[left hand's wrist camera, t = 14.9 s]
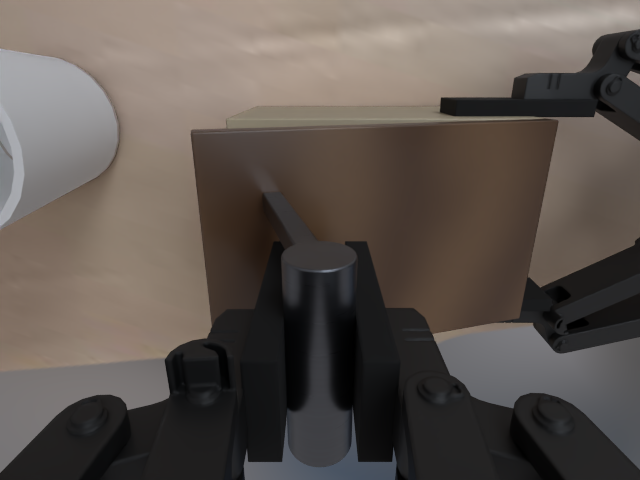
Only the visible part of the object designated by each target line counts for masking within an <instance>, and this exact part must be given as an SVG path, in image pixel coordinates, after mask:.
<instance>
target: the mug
mask: <svg viewBox="0 0 640 480" xmlns="http://www.w3.org/2000/svg"><path fill="white" fill-rule="evenodd" d="M119 140H120V139H119V122H118V119H117V115H116V112H115V108H114V106H113V104H112V102H111V101H110V99H109V97H108V95H107V93H106V92H105V90H104V89H103V88H102V87H101V86H100V85H99V83H98V82H97V81H96V80H95V79H94V78H93V77H92V76H91V75H90V74H88V73H87V72H85V71H84V70H83V69H81V68H80V67H79V66H77V65H75V64H72V63H70V62H68V61H65V60H63V59H61V58H55V57H48V56H42V55H36V54H30V53H24V52H18V51H12V50H5V49H0V230H1V229H2V228H4V227H6V226H8V225H10V224H12V223H13V222H15V221H17V220H19V219H21V218H23V217H24V216H26V215H28V214H30V213H32V212H34V211H35V210H37V209H39V208H41V207H43V206H45V205H46V204H48V203H50V202H52V201H54V200H56V199H57V198H59V197H61V196H63V195H65V194H67V193H69V192H70V191H72V190H74V189H76V188H78V187H80V186H81V185H83V184H85V183H87V182H89V181H91V180H92V179H94V178H96V177H98V176H99V175H100V174H102V173H103V172H104V171H105V170H106V169H107V168H108V167H109V166H110V164H111V162H112V161H113V159H114V157H115V156H116V153H117V149H118V144H119Z"/></svg>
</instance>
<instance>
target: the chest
mask: <svg viewBox="0 0 640 480" xmlns="http://www.w3.org/2000/svg"><path fill="white" fill-rule="evenodd" d="M521 119H545V118H540V117H534V116H451V115H448V114H444V113H441V112H440V106H257V107H254V108H252V109H249V110H247V111H245V112H242V113H240V114H237V115H235V116H232V117H230V118H228V119H226V124H227V129H232V128H264V127H296V126H328V125H360V124H392V123H424V122H456V121H488V120H521Z"/></svg>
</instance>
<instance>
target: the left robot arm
mask: <svg viewBox="0 0 640 480" xmlns="http://www.w3.org/2000/svg"><path fill="white" fill-rule="evenodd" d="M345 245H346V246H348V247H350V248H352V249H353V250H354V251H355V252H356V254H357V256H358V265H357V294H356V322H355V351H354V380H353V413H354V423H355V433H356V443H357V453H358V462H392V457H393V446H394V451H395V456H396V461H397V467H396V477H395V480H640V470H639V469H638V468H637V467H636V466H635V465H634V464H633V463H632V462H631V461H630V460H629V459H628V458H627V456H626V455H624V453H623V452H621V450H620V449H619V448H618V447H617V446H616V445H615V444H614V443H613V442H612V441H611V440H610V439H609V438H608V437H607V436H606V435H605V434H604V433H603V432H602V431H601V430H600V429H599V428H598V427H597V426H596V425H595V424H594V423H593V422H592V421H591V420H590V419H589V418H588V417H587V416H586V415H585V414H584V413H583V412H581V411H580V410H579V409H578V408H576V407H575V406H574V405H573V404H571V403H569V402H567V401H565V400H563V399H561V398H558V397H555V396H551V395H548V394H544V393H529V394H526V395H523V396H520V397H519V398H518V400H517V401H516V402H515V404H514V409H513V408H508V407H504V406H500V405H495V404H491V403H487V402H484V401H481V400H478V399H476V398H474V397H472V396H471V395H470V393H469V391H468V390H467V388H466V387H465V385H464V384H463V383H462V382H460V381H459V380H458V379H457V378H455V377H453V376H451V375H450V374H449V372H448V369H447V367H446V365H445V362H444V360H443V358H442V355H441V353H440V351H439V349H438V346H437V344H436V342H435V341H434V337H433V335H432V332H431V331H430V328H429V326H428V323H427V321H426V319H425V317H424V316H423V315H421V314H420V313H419V312H418V311H417V310H415V309H414V308H385V304H384V301H383V297H382V293H381V290H380V286H379V283H378V279H377V276H376V272H375V269H374V265H373V262H372V258H371V254H370V251H369V247H368V244H367V241H345ZM284 251H285V249H284V247H283V245H282V243H281V242H280V241H274V242H273V245H272V249H271V252H270V256H269V260H268V263H267V267H266V270H265V274H264V277H263V281H262V284H261V288H260V291H259V295H258V298H257V302H256V306H255V309H227V310H225V311H224V312H223V313H222V314H221V315H220V316H218V317H217V318H216V319H215V321H214V324H213V326H212V328H211V332H210V333H209V335H208V337H207V339H199V340H193V341H190V342H187V343H185V344H182V345H180V346H178V347H177V348H176V349H174V350H173V351H171V352H170V353H169V355H168V356H167V358H166V359H165V365H166V371H167V377H168V383H169V389H170V396H169V398H168V399H166V400H164V401H162V402H158V403H155V404H152V405H148V406H144V407H139V408H135V409H131V410H127V407H126V404H125V403H124V402H123V400H122V399H121V398H119V397H116V396H113V395H96V396H92V397H88V398H85V399H82V400H80V401H78V402H76V403H74V404H72V405H70V406H68V407H67V408H66V409H64V410H63V411H62V412H61V413H59V414H58V415H57V416H56V417H55V418H54V419H53V420H52V421H51V422H50V423H49V424H48V425H47V426H46V427H45V428H44V429H43V430H42V431H41V432H40V433H39V434H38V435H37V436H36V437H35V438H34V439H33V440H32V441H31V442H30V443H29V444H28V445H27V446H26V447H25V448H24V449H23V450H22V451H21V452H20V453H19V454H18V455H17V457H16V458H15V459H14V460H13V461H12V462H11V463H10V464H9V465H8V466H7V467H6V468H5V469H4V470H3V471H2V472H1V473H0V480H245V477H244V466H243V465H244V460H245V455H246V450H247V453H248V462H282V457H283V447H284V437H285V426H286V417H287V384H286V357H285V329H284V316H283V294H282V268H281V256H282V253H283V252H284Z"/></svg>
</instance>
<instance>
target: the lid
mask: <svg viewBox="0 0 640 480" xmlns="http://www.w3.org/2000/svg"><path fill="white" fill-rule="evenodd" d="M557 126H558V120H551V119H521V120H488V121H456V122H424V123H392V124H360V125H328V126H296V127H264V128H232V129H200V130H191V141H192V150H193V159H194V168H195V177H196V186H197V195H198V204H199V213H200V222H201V231H202V240H203V249H204V258H205V267H206V276H207V285H208V294H209V303H210V312H211V321H212V326H213V324H214V321H215V319H216V318H217V317H218V316H220V315H221V314H222V313H223V312H224V311H225V310H227V309H255V306H256V302H257V298H258V295H259V291H260V288H261V284H262V281H263V277H264V274H265V270H266V267H267V263H268V260H269V256H270V252H271V249H272V245H273V242H274V241H280V242H281V243H282V245H283V247H284V249H285V251H284V252H283V253H282V256H281V268H282V294H283V316H284V329H285V357H286V384H287V425H288V445H289V448H290V451H291V452H292V454H293V455H294V456H295V458H297V459H298V460H299V461H300V462H302V463H304V464H306V465H309V466H313V467H326V466H330V465H333V464H336V463H337V462H339V461H341V460H342V459H343V458H344V457H345V456H346V454H347V453H348V451H349V449H350V447H351V437H352V409H353V380H354V351H355V322H356V294H357V265H358V256H357V254H356V252H355V251H354V250H353V249H352V248H350V247H348V246H346V245H345V241H367V244H368V247H369V251H370V254H371V258H372V262H373V265H374V269H375V272H376V276H377V279H378V283H379V286H380V290H381V293H382V297H383V301H384V304H385V308H414V309H415V310H417V311H418V312H419V313H420V314H421V315H423V316H424V317H425V319H426V321H427V323H428V326H429V328H430V331H431V332H432V334H433V333H439V332H445V331H450V330H456V329H462V328H467V327H473V326H478V325H484V324H490V323H495V322H501V321H507V320H512V319H518V318H519V317H520V312H521V307H522V302H523V297H524V292H525V287H526V282H527V277H528V272H529V267H530V262H531V257H532V252H533V247H534V242H535V237H536V232H537V227H538V222H539V217H540V211H541V206H542V201H543V196H544V191H545V186H546V181H547V176H548V171H549V166H550V161H551V156H552V151H553V146H554V141H555V136H556V131H557Z"/></svg>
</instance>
